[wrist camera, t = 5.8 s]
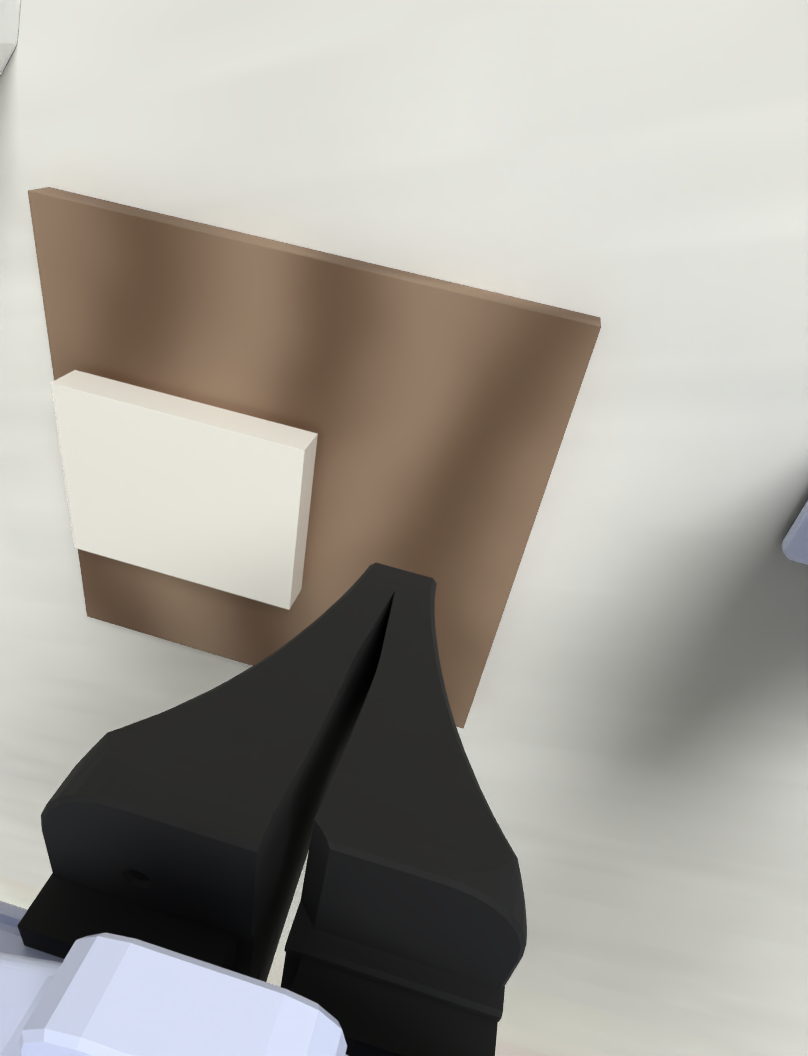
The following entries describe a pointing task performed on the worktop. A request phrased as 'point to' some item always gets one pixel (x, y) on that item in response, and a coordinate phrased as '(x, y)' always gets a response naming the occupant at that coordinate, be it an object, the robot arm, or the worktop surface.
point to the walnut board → (324, 411)
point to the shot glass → (8, 29)
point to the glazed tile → (185, 486)
